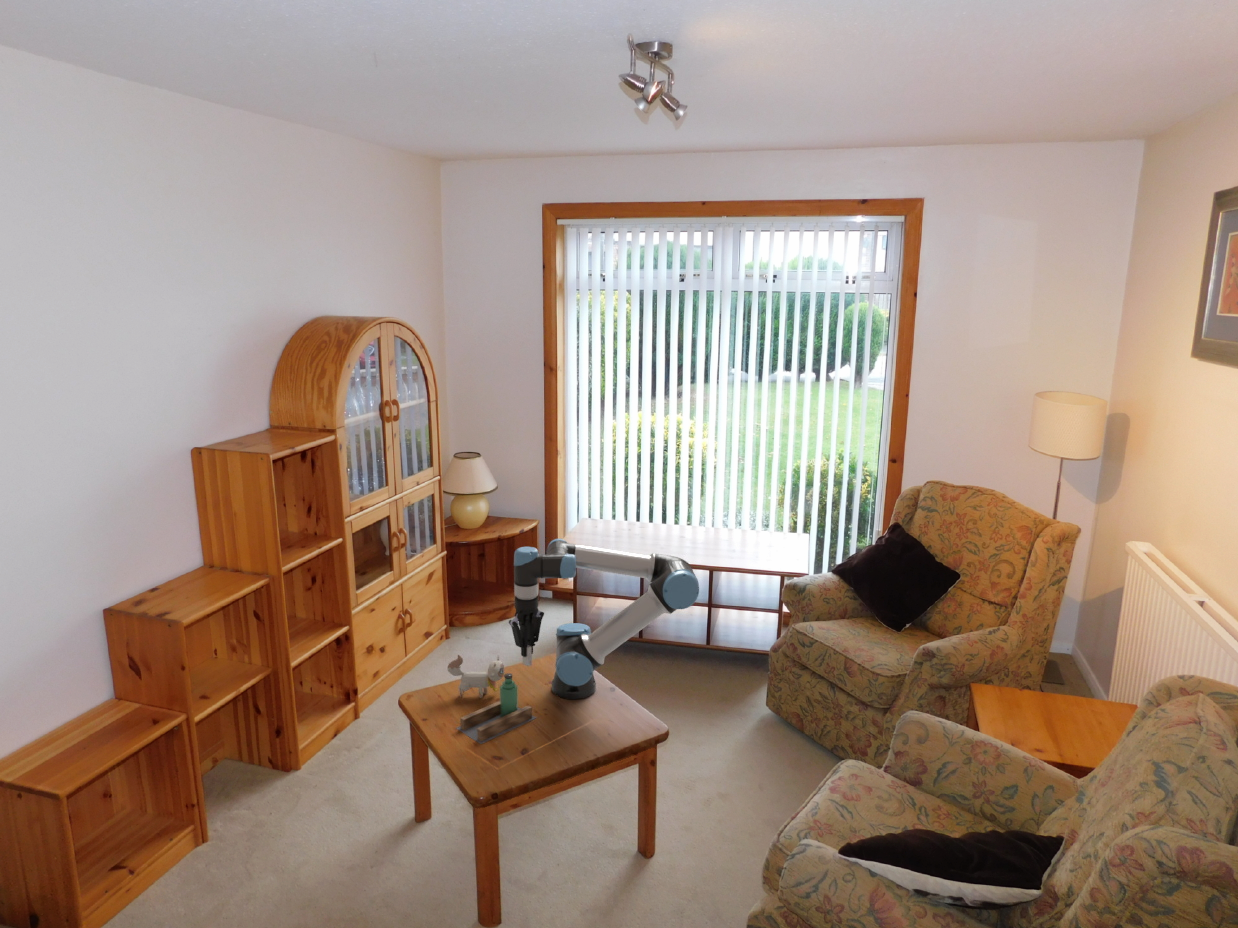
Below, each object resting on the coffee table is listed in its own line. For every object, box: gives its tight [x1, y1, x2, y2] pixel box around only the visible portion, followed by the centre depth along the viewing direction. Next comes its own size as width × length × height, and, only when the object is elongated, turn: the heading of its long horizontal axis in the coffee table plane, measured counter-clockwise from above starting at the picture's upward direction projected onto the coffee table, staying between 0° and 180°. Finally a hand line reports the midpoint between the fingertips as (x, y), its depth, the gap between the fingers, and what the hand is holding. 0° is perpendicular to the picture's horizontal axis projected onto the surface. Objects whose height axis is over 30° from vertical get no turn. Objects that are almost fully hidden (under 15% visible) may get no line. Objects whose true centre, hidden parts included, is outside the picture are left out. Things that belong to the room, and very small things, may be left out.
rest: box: [459, 700, 533, 741], centre depth 261 cm, size 20×11×4 cm, turn 136°
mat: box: [455, 707, 537, 745], centre depth 262 cm, size 22×13×1 cm, turn 136°
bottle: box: [499, 672, 519, 717], centre depth 264 cm, size 5×5×15 cm
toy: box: [447, 654, 505, 699], centre depth 277 cm, size 9×19×15 cm, turn 89°
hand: (527, 664), depth 268 cm, fingers closed
